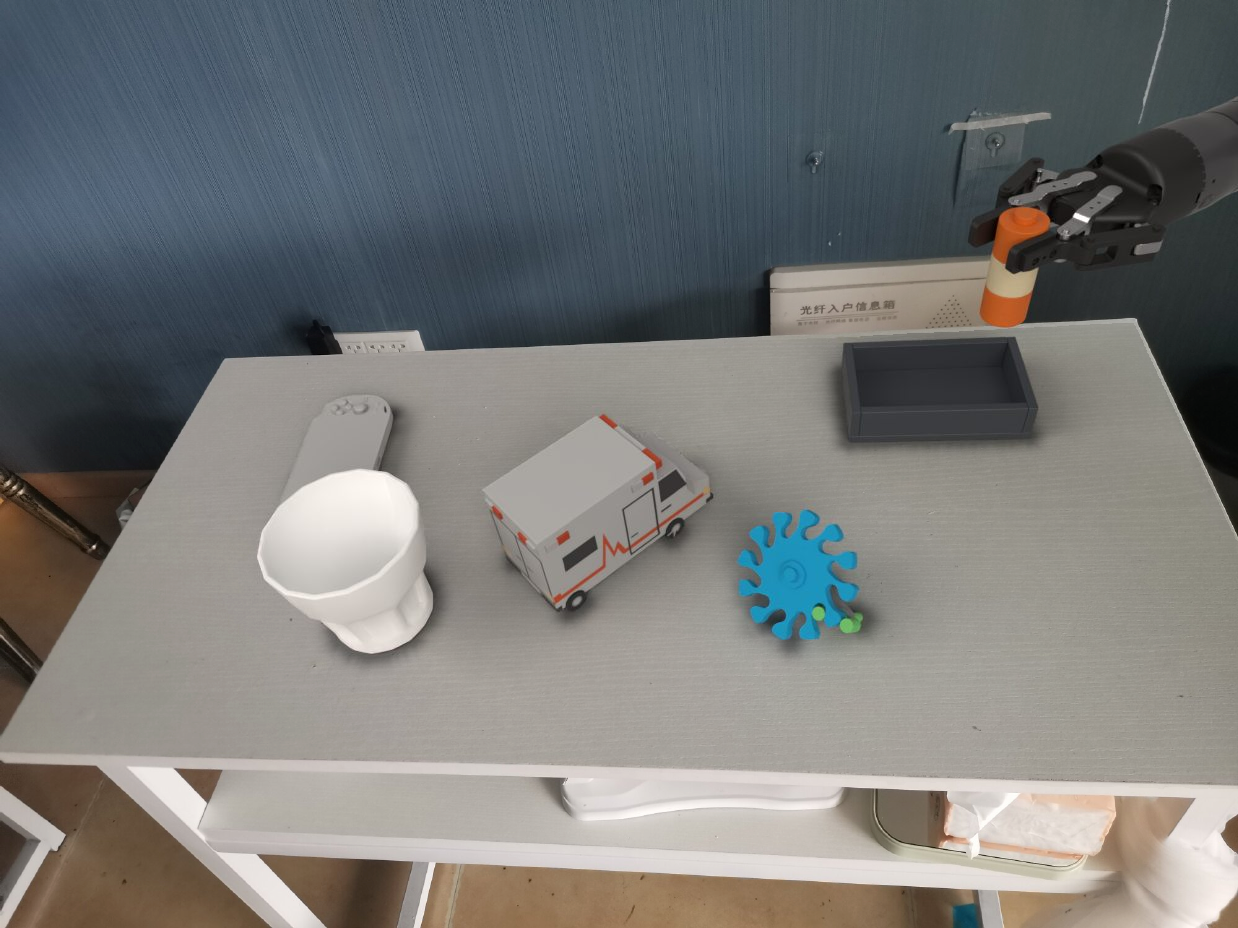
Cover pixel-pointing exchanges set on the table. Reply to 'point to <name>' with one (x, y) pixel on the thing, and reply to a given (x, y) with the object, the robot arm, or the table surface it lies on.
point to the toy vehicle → (591, 506)
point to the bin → (937, 390)
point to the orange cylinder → (1002, 288)
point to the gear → (801, 578)
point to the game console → (342, 440)
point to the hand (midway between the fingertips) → (991, 248)
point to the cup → (352, 558)
